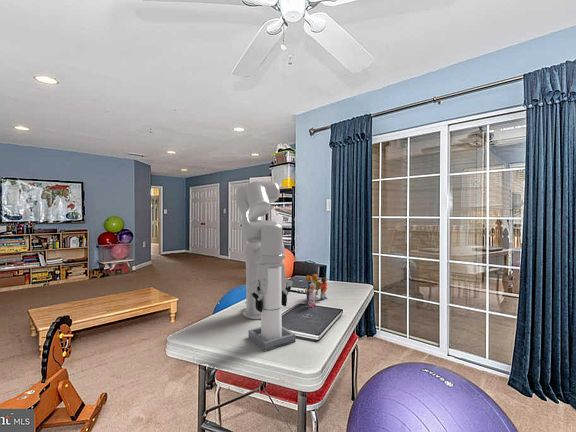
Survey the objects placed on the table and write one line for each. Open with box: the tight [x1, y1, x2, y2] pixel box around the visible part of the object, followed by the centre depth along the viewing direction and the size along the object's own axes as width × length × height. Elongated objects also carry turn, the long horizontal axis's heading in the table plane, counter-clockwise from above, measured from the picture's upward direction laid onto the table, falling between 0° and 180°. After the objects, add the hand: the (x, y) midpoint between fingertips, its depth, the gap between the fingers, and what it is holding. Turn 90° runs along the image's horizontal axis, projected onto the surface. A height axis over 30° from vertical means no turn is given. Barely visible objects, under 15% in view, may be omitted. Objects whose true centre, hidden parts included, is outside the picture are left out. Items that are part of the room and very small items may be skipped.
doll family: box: [304, 273, 328, 309], centre depth 144 cm, size 21×10×13 cm, turn 151°
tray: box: [248, 325, 296, 352], centre depth 104 cm, size 12×12×2 cm
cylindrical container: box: [260, 267, 283, 341], centre depth 104 cm, size 7×7×25 cm
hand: (271, 308), depth 104 cm, fingers open, 9 cm apart
